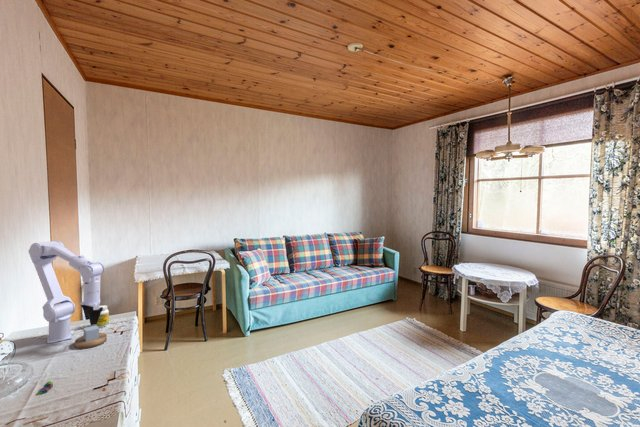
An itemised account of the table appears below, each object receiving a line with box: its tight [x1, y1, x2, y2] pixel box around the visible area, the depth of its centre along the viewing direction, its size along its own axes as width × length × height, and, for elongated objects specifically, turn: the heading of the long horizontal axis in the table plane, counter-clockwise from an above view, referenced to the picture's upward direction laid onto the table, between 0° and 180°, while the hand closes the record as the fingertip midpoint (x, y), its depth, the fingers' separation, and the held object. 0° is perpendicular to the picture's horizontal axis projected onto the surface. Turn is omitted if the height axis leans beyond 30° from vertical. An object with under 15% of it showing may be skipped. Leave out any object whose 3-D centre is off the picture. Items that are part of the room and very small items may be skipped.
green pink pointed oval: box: [35, 381, 54, 396], centre depth 96 cm, size 4×3×2 cm, turn 16°
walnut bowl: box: [74, 332, 107, 350], centre depth 128 cm, size 11×11×2 cm
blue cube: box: [82, 324, 100, 342], centre depth 128 cm, size 4×4×4 cm
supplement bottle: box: [94, 305, 110, 328], centre depth 145 cm, size 5×5×10 cm
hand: (91, 321), depth 128 cm, fingers open, 7 cm apart
